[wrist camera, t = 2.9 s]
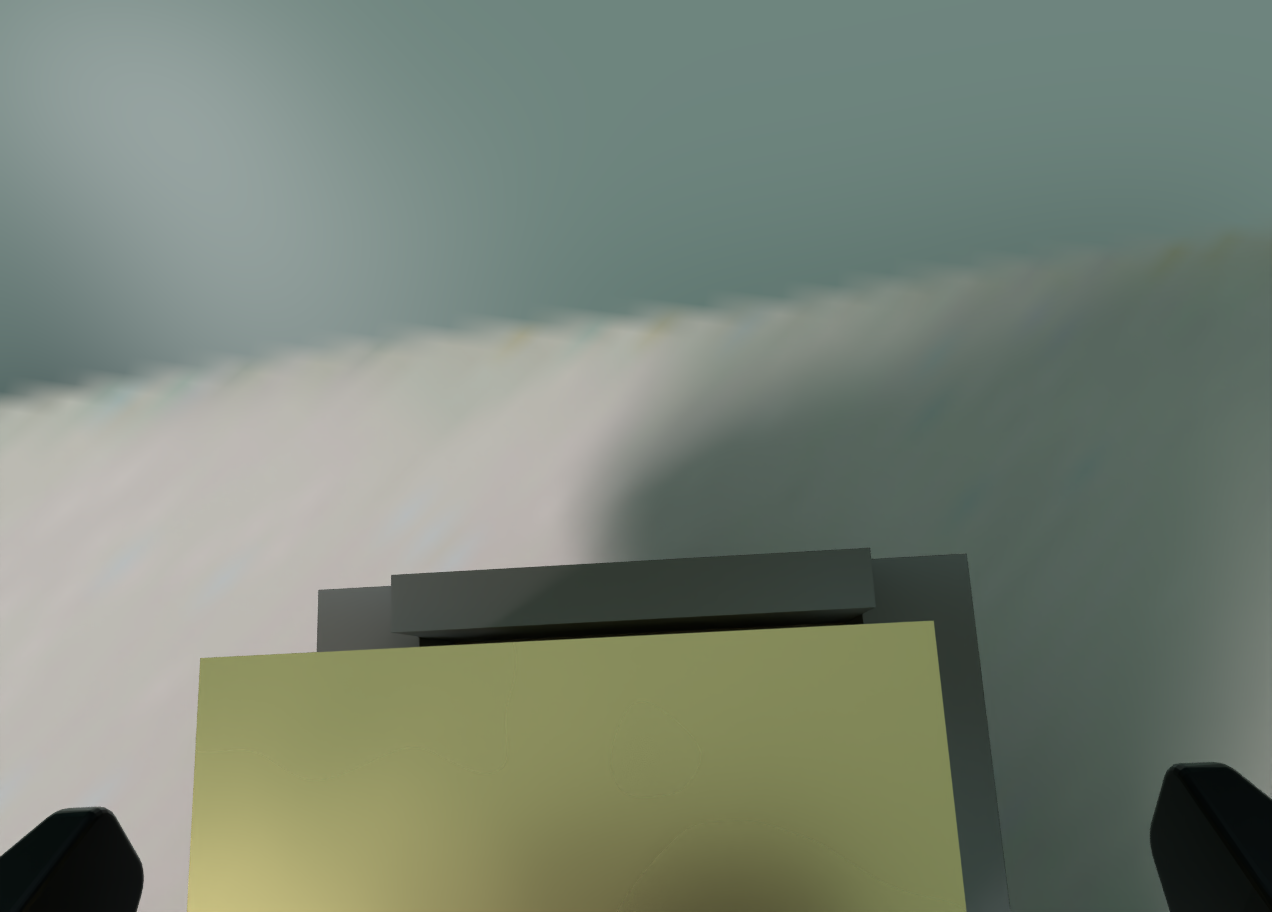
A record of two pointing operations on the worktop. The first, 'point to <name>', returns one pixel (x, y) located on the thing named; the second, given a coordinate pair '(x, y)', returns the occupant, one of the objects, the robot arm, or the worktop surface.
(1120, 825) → the worktop surface
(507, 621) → the grey open tray
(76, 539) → the worktop surface
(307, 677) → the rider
